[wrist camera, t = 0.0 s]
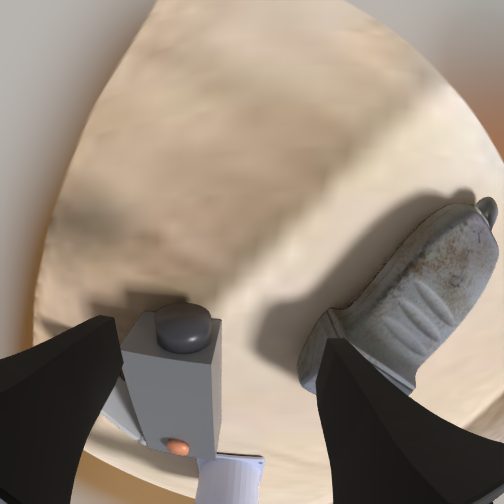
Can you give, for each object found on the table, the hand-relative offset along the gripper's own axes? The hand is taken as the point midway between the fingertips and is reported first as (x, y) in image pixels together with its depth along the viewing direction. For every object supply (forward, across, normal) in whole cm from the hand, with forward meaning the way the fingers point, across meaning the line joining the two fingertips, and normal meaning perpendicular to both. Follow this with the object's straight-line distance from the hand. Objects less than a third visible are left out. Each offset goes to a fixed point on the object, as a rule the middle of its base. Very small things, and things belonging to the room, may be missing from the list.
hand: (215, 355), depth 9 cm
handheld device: (+11, -13, +2) cm, 17 cm away
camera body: (+10, +4, +11) cm, 15 cm away
